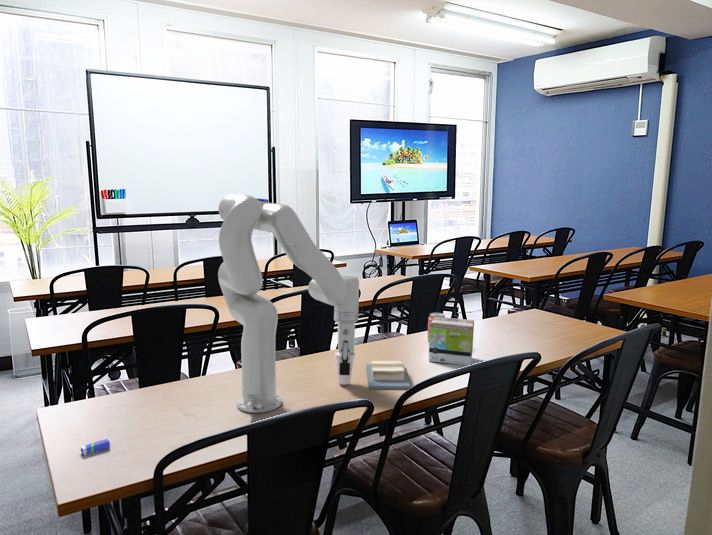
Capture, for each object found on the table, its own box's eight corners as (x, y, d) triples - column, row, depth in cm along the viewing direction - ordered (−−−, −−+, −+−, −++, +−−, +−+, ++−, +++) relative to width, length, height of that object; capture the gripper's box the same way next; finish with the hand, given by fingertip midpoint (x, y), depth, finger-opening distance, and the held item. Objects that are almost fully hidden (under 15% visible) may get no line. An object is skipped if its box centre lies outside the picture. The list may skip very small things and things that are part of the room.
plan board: (410, 389, 168) (410, 386, 168) (368, 388, 168) (368, 385, 168) (403, 367, 188) (403, 364, 188) (366, 367, 188) (366, 364, 188)
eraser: (81, 453, 127) (80, 445, 127) (107, 446, 131) (107, 438, 131) (83, 457, 126) (82, 449, 125) (110, 449, 130) (109, 441, 129)
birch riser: (403, 380, 173) (404, 371, 173) (372, 380, 173) (372, 371, 172) (400, 369, 183) (401, 360, 182) (371, 369, 183) (371, 360, 182)
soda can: (447, 342, 217) (449, 313, 215) (440, 347, 211) (441, 317, 209) (431, 339, 221) (432, 311, 219) (424, 344, 215) (425, 314, 213)
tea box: (428, 362, 194) (429, 322, 191) (431, 354, 203) (433, 315, 201) (470, 366, 190) (472, 325, 187) (472, 357, 199) (474, 318, 197)
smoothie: (358, 382, 172) (359, 340, 170) (344, 387, 167) (345, 343, 165) (344, 377, 176) (345, 335, 174) (329, 382, 171) (330, 339, 169)
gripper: (358, 322, 160) (356, 381, 162) (357, 309, 177) (355, 362, 179) (333, 322, 160) (332, 380, 162) (334, 309, 177) (333, 361, 179)
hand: (344, 370), depth 171 cm, fingers closed on smoothie, 6 cm apart
